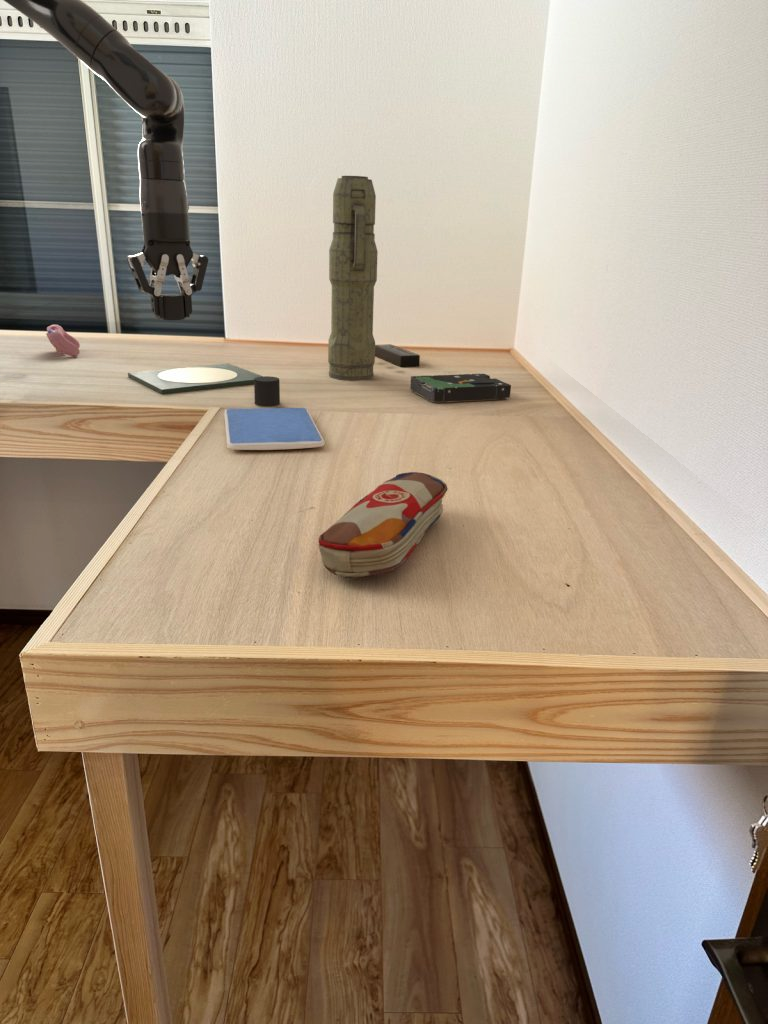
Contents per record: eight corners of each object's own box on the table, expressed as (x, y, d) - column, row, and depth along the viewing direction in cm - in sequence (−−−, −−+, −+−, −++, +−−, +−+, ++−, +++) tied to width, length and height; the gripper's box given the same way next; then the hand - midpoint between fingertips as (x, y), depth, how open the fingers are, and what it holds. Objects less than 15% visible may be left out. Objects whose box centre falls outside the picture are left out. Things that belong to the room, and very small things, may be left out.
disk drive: (482, 388, 135) (408, 390, 130) (483, 373, 134) (409, 374, 128) (510, 400, 126) (433, 404, 121) (512, 384, 125) (434, 387, 120)
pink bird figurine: (62, 356, 156) (42, 326, 153) (81, 346, 157) (62, 316, 153) (61, 364, 148) (39, 333, 144) (81, 354, 148) (60, 323, 145)
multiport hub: (401, 367, 150) (401, 355, 150) (372, 355, 162) (373, 344, 162) (420, 366, 152) (420, 355, 151) (390, 354, 164) (391, 344, 163)
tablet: (224, 415, 109) (223, 407, 109) (307, 413, 112) (307, 405, 111) (227, 454, 92) (226, 444, 91) (326, 451, 94) (326, 441, 94)
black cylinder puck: (262, 407, 115) (261, 382, 113) (250, 402, 118) (249, 377, 116) (284, 404, 117) (284, 379, 115) (272, 399, 120) (271, 375, 118)
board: (161, 394, 121) (161, 388, 120) (128, 376, 132) (127, 372, 132) (268, 382, 132) (268, 377, 132) (228, 367, 144) (228, 362, 143)
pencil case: (275, 563, 63) (273, 510, 61) (396, 500, 79) (398, 456, 77) (379, 601, 58) (381, 543, 56) (488, 525, 73) (493, 478, 71)
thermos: (338, 382, 134) (341, 173, 121) (320, 370, 144) (321, 176, 131) (383, 380, 137) (390, 176, 124) (362, 369, 147) (367, 179, 134)
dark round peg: (166, 320, 123) (164, 296, 122) (157, 317, 126) (155, 294, 125) (188, 319, 126) (187, 295, 124) (179, 316, 128) (177, 293, 127)
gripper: (195, 211, 126) (201, 313, 133) (113, 208, 118) (124, 317, 124) (214, 212, 121) (220, 318, 127) (129, 209, 113) (140, 322, 119)
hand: (172, 317), depth 126 cm, fingers closed on dark round peg, 4 cm apart
